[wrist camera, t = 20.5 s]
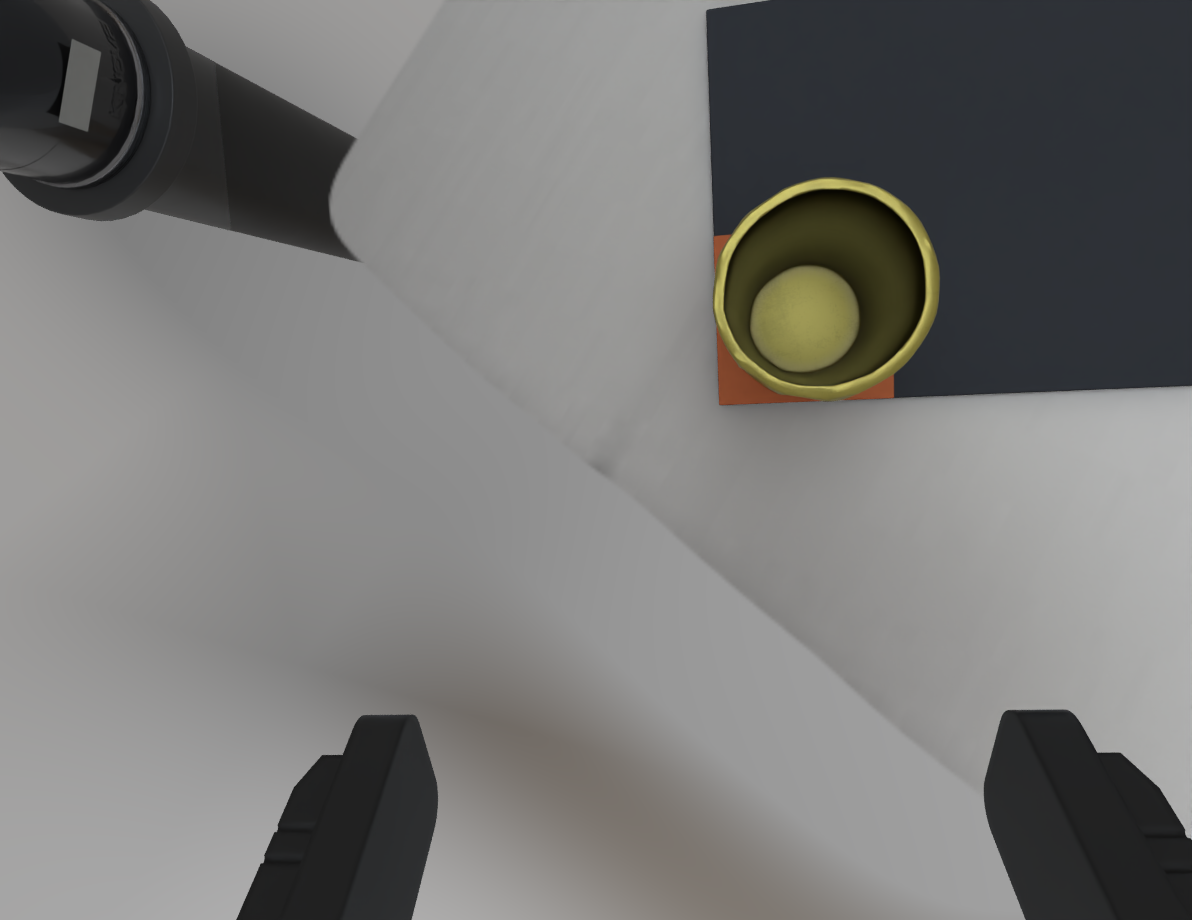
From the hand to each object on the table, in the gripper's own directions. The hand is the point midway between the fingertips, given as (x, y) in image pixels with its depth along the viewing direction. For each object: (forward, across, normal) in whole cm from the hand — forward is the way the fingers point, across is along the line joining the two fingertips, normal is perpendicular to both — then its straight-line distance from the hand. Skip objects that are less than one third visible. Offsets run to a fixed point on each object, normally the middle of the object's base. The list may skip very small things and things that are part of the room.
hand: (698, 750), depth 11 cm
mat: (+26, -11, -1) cm, 28 cm away
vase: (+24, -5, +4) cm, 25 cm away
